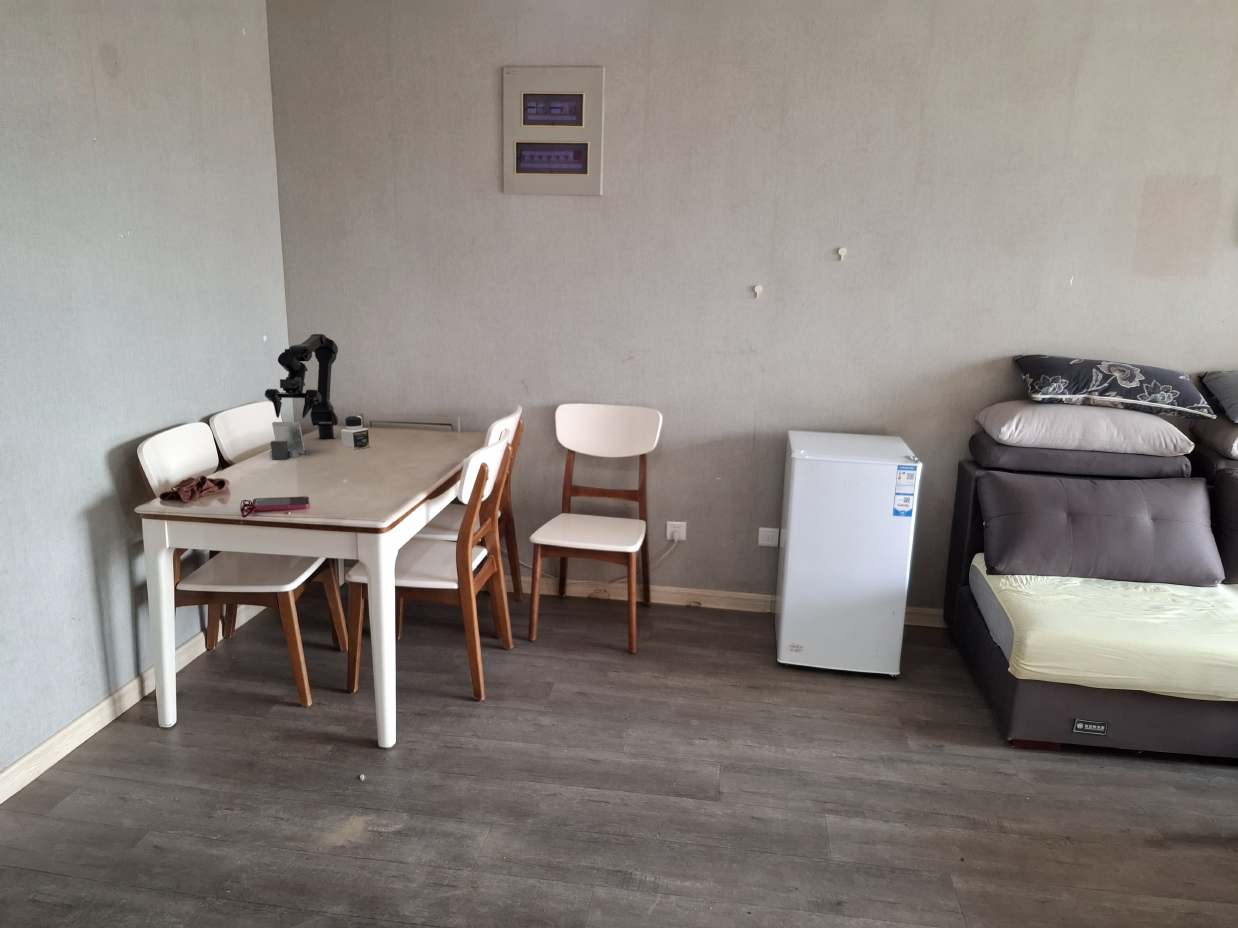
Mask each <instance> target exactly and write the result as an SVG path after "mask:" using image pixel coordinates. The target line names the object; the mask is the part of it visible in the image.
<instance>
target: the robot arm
mask: <svg viewBox="0 0 1238 928" xmlns="http://www.w3.org/2000/svg"><path fill="white" fill-rule="evenodd" d="M338 348H339V346H338V345H337V343H336V342H335V341H334V340H333V339H330V338H329V337H327V336H326V334H323V333H313V334H311V335H310V336H309V337H308V338H307V339H305V340H304V341H303V342H301V343H300V344H293V345H290V347H288V348H285V349H284V351H283V352H282V353H280V354H279V356H278V357H277V361H278V362H277V363H278V364H279V365H280V367H282V368H283V370H285V371H286V372H287V373H288V374H287V376H286V377H285V379H284V378H283V379H282V378H280V379H279V389H282V391H283V392H280V391H279V389H278V388H267V389H266V390H265V391H264V397H265V398H266V399H268V401H270V402H272V404H273V408H274V413H275V416H276V418H277V419H279V418H280V415H281V410H282V409H281V408H282V399H304V404H303V408H302V419H305V418H306V417H307V415H308V414H309V412H310V414H309V416H310V419H311V423H312V426H317V429H318V431H317V432H318V437H317V438H316V439H317V440H326V441H327V440H337V438H336V437H335V433H334V432H335V431H334V426H336V425H337V426H338V423H339V418H338V416H337V415H336V413H335V407H334V406H333V403H332V402H331V380H332V366H333V364H334V363H335V361H336V360H337V354H338V353H339V349H338ZM313 353H314V357H315V360H317V363H318V370H317V371H318V373H317V374H318V375H317V388H316V389H306V390H305V392H303V391H304V387H305V386H306V383H305V379H306V372H308V367H307V366H306V363H303V362H309V361H310V360H311V359H312V358H313Z"/></svg>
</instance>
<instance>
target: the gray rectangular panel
mask: <svg viewBox="0 0 1238 928" xmlns="http://www.w3.org/2000/svg"><path fill="white" fill-rule="evenodd" d="M271 425H272V430H273V435H274V441H287V447H288V449H298V455H305V452H304V450H306V448H305V444H304V438H303V434H302V428H301V422H300V421H273V422H271Z"/></svg>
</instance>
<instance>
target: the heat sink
mask: <svg viewBox="0 0 1238 928" xmlns="http://www.w3.org/2000/svg"><path fill="white" fill-rule="evenodd" d="M304 452H305V454H304V455H307V456H308V455H310V450H309V449H305V450H304ZM299 455H300V454H298V449H288V447H287V441H275V440H272V441H270V450H269V456H270V459H272V461H288V460H289V459H297V458H299Z"/></svg>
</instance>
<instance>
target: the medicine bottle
mask: <svg viewBox="0 0 1238 928" xmlns="http://www.w3.org/2000/svg"><path fill="white" fill-rule="evenodd" d="M340 435H341V442H342V443H341V445H342V446H343V447H347V448H348V447H349V448H353V450H354V451H356V450H361V449H365V448H370V439H369V429H368V428H365V427H363V417H361V416H360V415H351V416H347V417H346V418H345V428H344V429H341V434H340Z"/></svg>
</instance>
